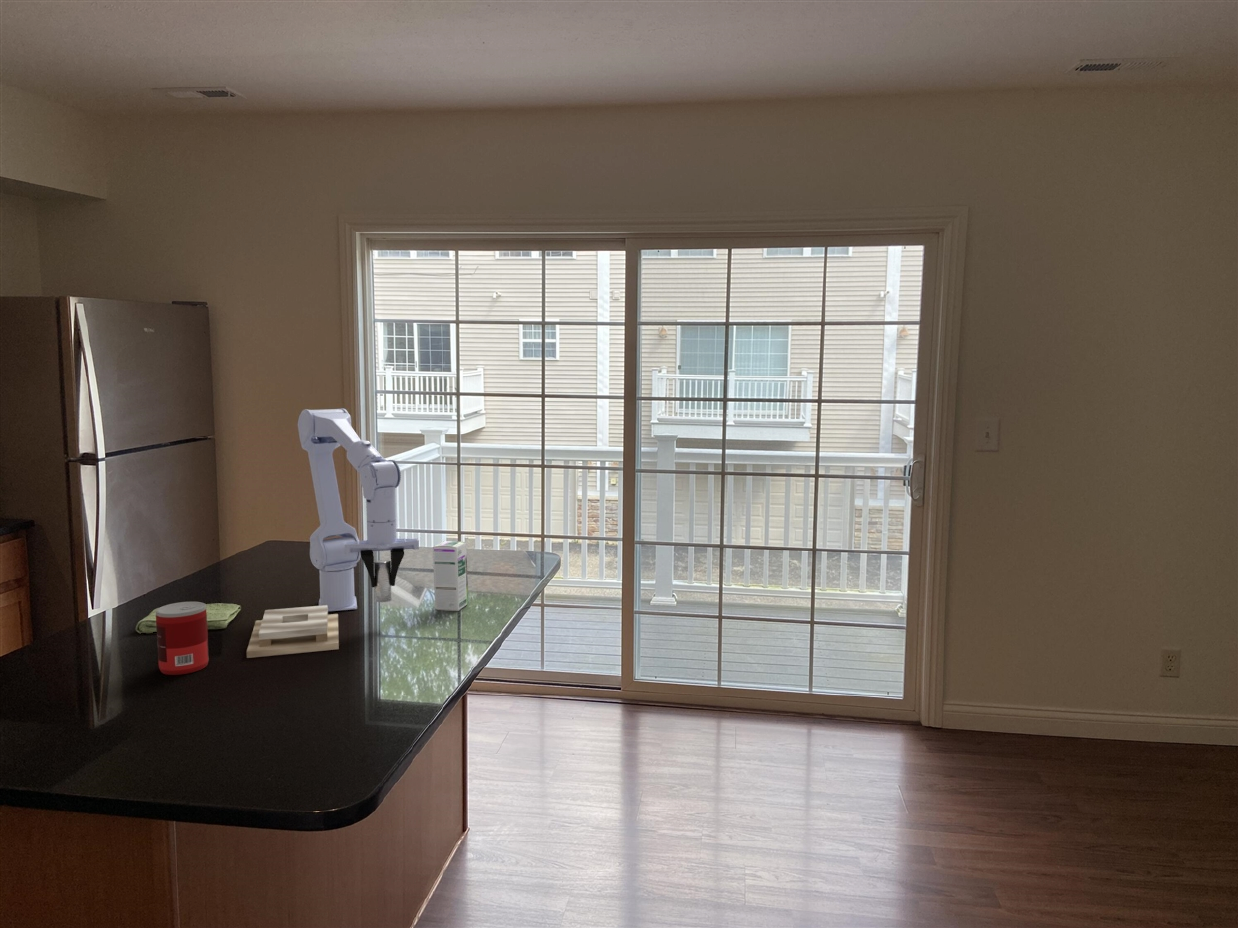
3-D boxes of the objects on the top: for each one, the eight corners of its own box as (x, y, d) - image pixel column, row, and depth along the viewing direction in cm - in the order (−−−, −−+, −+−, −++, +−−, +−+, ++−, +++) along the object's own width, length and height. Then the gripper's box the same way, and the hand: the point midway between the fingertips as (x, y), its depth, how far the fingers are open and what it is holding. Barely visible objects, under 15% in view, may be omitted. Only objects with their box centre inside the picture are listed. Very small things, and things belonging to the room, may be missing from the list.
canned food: (218, 662, 152) (216, 603, 150) (182, 678, 144) (179, 615, 143) (185, 657, 154) (182, 599, 153) (148, 672, 147) (145, 611, 145)
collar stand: (256, 626, 173) (255, 608, 173) (338, 619, 178) (337, 601, 178) (246, 657, 154) (245, 637, 154) (338, 648, 159) (338, 629, 159)
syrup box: (458, 611, 184) (457, 546, 183) (433, 609, 185) (432, 545, 184) (468, 604, 190) (467, 541, 188) (444, 602, 191) (442, 540, 189)
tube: (375, 598, 174) (373, 560, 173) (391, 597, 175) (390, 559, 174) (375, 602, 171) (374, 564, 170) (392, 601, 172) (391, 563, 171)
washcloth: (229, 631, 171) (228, 616, 171) (133, 637, 167) (132, 621, 167) (243, 613, 184) (242, 599, 183) (154, 618, 180) (153, 603, 179)
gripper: (344, 525, 165) (346, 593, 166) (419, 521, 170) (421, 587, 171) (343, 519, 172) (345, 584, 173) (416, 515, 176) (417, 579, 178)
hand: (383, 585), depth 173 cm, fingers closed on tube, 3 cm apart
